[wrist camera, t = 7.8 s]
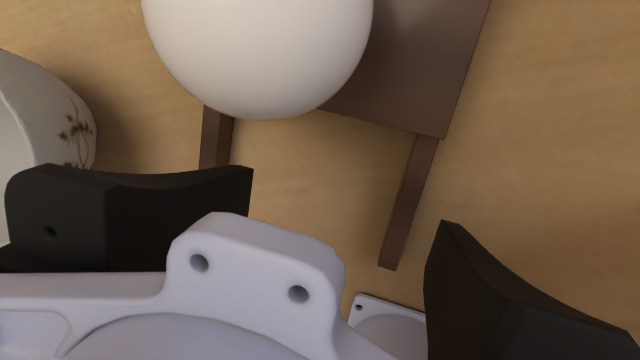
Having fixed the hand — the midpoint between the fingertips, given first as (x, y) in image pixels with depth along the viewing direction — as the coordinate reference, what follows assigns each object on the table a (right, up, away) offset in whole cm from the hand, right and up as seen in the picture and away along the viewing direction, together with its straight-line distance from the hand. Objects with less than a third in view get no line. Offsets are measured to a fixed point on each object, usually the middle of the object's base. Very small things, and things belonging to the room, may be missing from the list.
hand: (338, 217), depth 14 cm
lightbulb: (0, +9, +4) cm, 10 cm away
